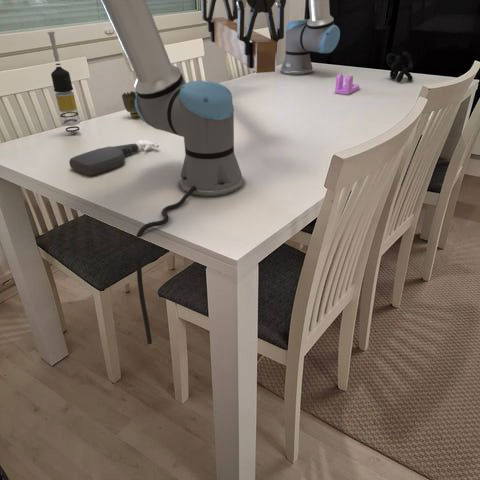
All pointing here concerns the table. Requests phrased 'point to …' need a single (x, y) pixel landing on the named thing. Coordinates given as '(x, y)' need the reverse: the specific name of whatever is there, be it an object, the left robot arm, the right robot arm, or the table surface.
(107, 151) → the spray bottle
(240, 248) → the table surface
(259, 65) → the bar
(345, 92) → the bracket
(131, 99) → the cup
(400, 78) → the squiggle
